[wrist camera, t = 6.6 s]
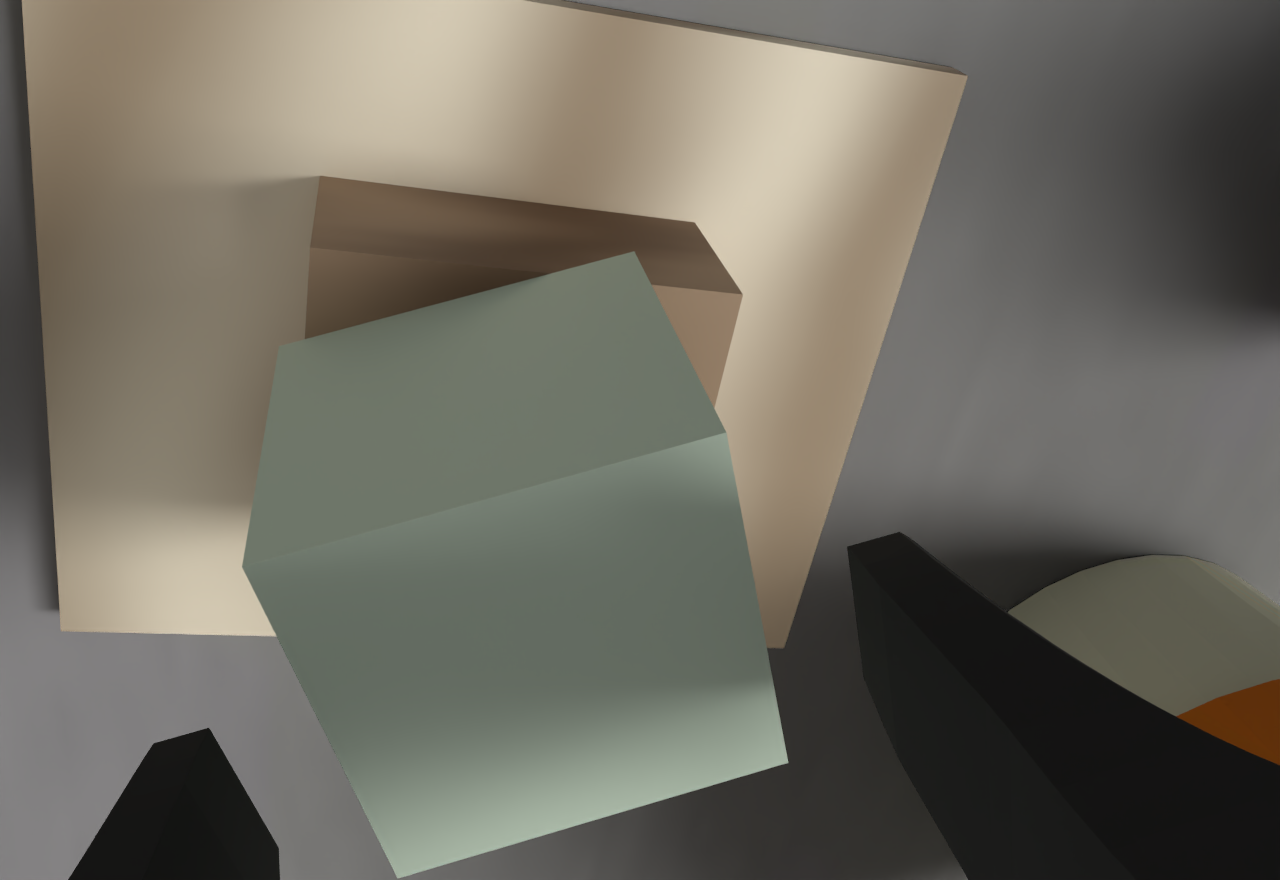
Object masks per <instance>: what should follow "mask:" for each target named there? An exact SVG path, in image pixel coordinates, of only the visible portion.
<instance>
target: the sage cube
mask: <svg viewBox="0 0 1280 880" xmlns="http://www.w3.org/2000/svg"><path fill="white" fill-rule="evenodd" d="M242 568H243V570H244V572H245V574H246V576H247V578H248V580H249V582H250V584H251V586H252V588H253V590H254V592H255V594H256V596H257V598H258V600H259V602H260V604H261V606H262V608H263V610H264V612H265V614H266V616H267V618H268V620H269V622H270V624H271V626H272V628H273V630H274V632H275V634H276V636H277V638H278V640H279V642H280V644H281V646H282V648H283V650H284V652H285V654H286V656H287V658H288V660H289V662H290V664H291V666H292V668H293V670H294V672H295V674H296V676H297V678H298V680H299V682H300V684H301V686H302V688H303V690H304V692H305V694H306V696H307V698H308V700H309V702H310V704H311V706H312V708H313V710H314V712H315V714H316V716H317V718H318V720H319V722H320V724H321V726H322V728H323V730H324V732H325V734H326V736H327V738H328V740H329V742H330V744H331V746H332V748H333V750H334V752H335V754H336V756H337V758H338V760H339V762H340V764H341V766H342V768H343V770H344V772H345V774H346V776H347V778H348V780H349V782H350V784H351V786H352V788H353V790H354V792H355V794H356V796H357V798H358V800H359V802H360V804H361V806H362V808H363V810H364V812H365V814H366V816H367V818H368V820H369V822H370V824H371V826H372V828H373V830H374V832H375V834H376V836H377V838H378V840H379V842H380V844H381V846H382V848H383V850H384V852H385V854H386V856H387V858H388V860H389V862H390V864H391V866H392V868H393V870H394V872H395V874H396V876H397V878H401V877H405V876H408V875H411V874H415V873H418V872H421V871H425V870H428V869H432V868H435V867H438V866H442V865H445V864H448V863H452V862H455V861H459V860H462V859H465V858H469V857H472V856H475V855H479V854H482V853H486V852H489V851H492V850H496V849H499V848H502V847H506V846H509V845H513V844H516V843H519V842H523V841H526V840H529V839H533V838H536V837H540V836H543V835H546V834H550V833H553V832H556V831H560V830H563V829H567V828H570V827H573V826H577V825H580V824H583V823H587V822H590V821H593V820H597V819H600V818H604V817H607V816H610V815H614V814H617V813H620V812H624V811H627V810H631V809H634V808H637V807H641V806H644V805H647V804H651V803H654V802H658V801H661V800H664V799H668V798H671V797H674V796H678V795H681V794H685V793H688V792H691V791H695V790H698V789H701V788H705V787H708V786H712V785H715V784H718V783H722V782H725V781H728V780H732V779H735V778H739V777H742V776H745V775H749V774H752V773H755V772H759V771H762V770H766V769H769V768H772V767H776V766H779V765H782V764H786V763H788V758H787V753H786V748H785V742H784V737H783V732H782V726H781V721H780V716H779V710H778V705H777V700H776V694H775V689H774V684H773V678H772V673H771V668H770V662H769V657H768V652H767V646H766V641H765V636H764V630H763V625H762V620H761V614H760V609H759V604H758V598H757V593H756V588H755V582H754V577H753V572H752V566H751V561H750V556H749V550H748V545H747V540H746V534H745V529H744V524H743V518H742V513H741V507H740V502H739V497H738V491H737V486H736V481H735V475H734V470H733V465H732V459H731V454H730V449H729V443H728V438H727V433H726V431H725V429H724V427H723V425H722V423H721V421H720V419H719V417H718V415H717V413H716V411H715V409H714V407H713V405H712V403H711V401H710V399H709V397H708V395H707V393H706V391H705V389H704V387H703V385H702V383H701V381H700V379H699V378H698V376H697V374H696V372H695V370H694V368H693V366H692V364H691V362H690V360H689V358H688V356H687V354H686V352H685V350H684V348H683V346H682V344H681V342H680V340H679V338H678V336H677V334H676V332H675V330H674V328H673V326H672V324H671V323H670V321H669V319H668V317H667V315H666V313H665V311H664V309H663V307H662V305H661V303H660V301H659V299H658V297H657V295H656V293H655V291H654V289H653V287H652V285H651V283H650V281H649V279H648V277H647V275H646V273H645V271H644V269H643V268H642V266H641V264H640V262H639V260H638V258H637V256H636V254H635V252H634V251H633V252H630V253H626V254H622V255H618V256H615V257H611V258H607V259H603V260H600V261H596V262H592V263H588V264H585V265H581V266H577V267H573V268H570V269H566V270H562V271H558V272H555V273H551V274H547V275H544V276H540V277H536V278H532V279H529V280H525V281H521V282H517V283H514V284H510V285H506V286H502V287H499V288H495V289H491V290H487V291H484V292H480V293H476V294H472V295H469V296H465V297H461V298H457V299H454V300H450V301H446V302H442V303H439V304H435V305H431V306H427V307H424V308H420V309H416V310H412V311H409V312H405V313H401V314H397V315H394V316H390V317H386V318H382V319H379V320H375V321H371V322H368V323H364V324H360V325H356V326H353V327H349V328H345V329H341V330H338V331H334V332H330V333H326V334H323V335H319V336H315V337H311V338H308V339H304V340H300V341H296V342H293V343H289V344H285V345H281V346H279V349H278V355H277V361H276V367H275V373H274V379H273V385H272V391H271V397H270V403H269V409H268V415H267V421H266V427H265V433H264V439H263V445H262V451H261V457H260V462H259V468H258V474H257V480H256V486H255V492H254V498H253V504H252V510H251V516H250V522H249V528H248V534H247V540H246V546H245V552H244V558H243V564H242Z"/></svg>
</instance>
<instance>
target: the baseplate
mask: <svg viewBox="0 0 1280 880" xmlns="http://www.w3.org/2000/svg"><path fill="white" fill-rule="evenodd" d="M22 13H23V29H24V46H25V62H26V78H27V94H28V110H29V126H30V142H31V158H32V174H33V190H34V206H35V222H36V238H37V254H38V270H39V287H40V303H41V319H42V335H43V351H44V367H45V383H46V399H47V415H48V431H49V447H50V463H51V479H52V495H53V511H54V528H55V544H56V560H57V576H58V592H59V608H60V624H61V631H76V632H119V633H161V634H203V635H245V636H276V634H275V632H274V630H273V628H272V626H271V624H270V622H269V620H268V618H267V616H266V614H265V612H264V610H263V608H262V606H261V604H260V602H259V600H258V598H257V596H256V594H255V592H254V590H253V588H252V586H251V584H250V582H249V580H248V578H247V576H246V574H245V572H244V570H243V568H242V564H243V558H244V552H245V546H246V540H247V534H248V528H249V522H250V516H251V510H252V504H253V498H254V492H255V486H256V480H257V474H258V468H259V462H260V457H261V451H262V445H263V439H264V433H265V427H266V421H267V415H268V409H269V403H270V397H271V391H272V385H273V379H274V373H275V367H276V361H277V355H278V349H279V346H281V345H285V344H289V343H293V342H296V341H300V340H304V339H308V338H311V337H315V336H319V335H323V334H326V333H330V332H334V331H338V330H341V329H345V328H349V327H353V326H356V325H360V324H364V323H368V322H371V321H375V320H379V319H382V318H386V317H390V316H394V315H397V314H401V313H405V312H409V311H412V310H416V309H420V308H424V307H427V306H431V305H435V304H439V303H442V302H446V301H450V300H454V299H457V298H461V297H465V296H469V295H472V294H476V293H480V292H484V291H487V290H491V289H495V288H499V287H502V286H506V285H510V284H514V283H517V282H521V281H525V280H529V279H532V278H536V277H540V276H544V275H547V274H551V273H555V272H558V271H562V270H566V269H570V268H573V267H577V266H581V265H585V264H588V263H592V262H596V261H600V260H603V259H607V258H611V257H615V256H618V255H622V254H626V253H630V252H633V251H634V252H635V254H636V256H637V258H638V260H639V262H640V264H641V266H642V268H643V269H644V271H645V273H646V275H647V277H648V279H649V281H650V283H651V285H652V287H653V289H654V291H655V293H656V295H657V297H658V299H659V301H660V303H661V305H662V307H663V309H664V311H665V313H666V315H667V317H668V319H669V321H670V323H671V324H672V326H673V328H674V330H675V332H676V334H677V336H678V338H679V340H680V342H681V344H682V346H683V348H684V350H685V352H686V354H687V356H688V358H689V360H690V362H691V364H692V366H693V368H694V370H695V372H696V374H697V376H698V378H699V379H700V381H701V383H702V385H703V387H704V389H705V391H706V393H707V395H708V397H709V399H710V401H711V403H712V405H713V407H714V409H715V411H716V413H717V415H718V417H719V419H720V421H721V423H722V425H723V427H724V429H725V431H726V433H727V438H728V443H729V449H730V454H731V459H732V465H733V470H734V475H735V481H736V486H737V491H738V497H739V502H740V507H741V513H742V518H743V524H744V529H745V534H746V540H747V545H748V550H749V556H750V561H751V566H752V572H753V577H754V582H755V588H756V593H757V598H758V604H759V609H760V614H761V620H762V625H763V630H764V636H765V641H766V646H767V648H784V647H785V644H786V641H787V638H788V635H789V631H790V628H791V625H792V622H793V619H794V616H795V613H796V610H797V607H798V603H799V600H800V597H801V594H802V591H803V588H804V585H805V582H806V579H807V575H808V572H809V569H810V566H811V563H812V560H813V557H814V554H815V551H816V547H817V544H818V541H819V538H820V535H821V532H822V529H823V526H824V523H825V520H826V516H827V513H828V510H829V507H830V504H831V501H832V498H833V495H834V492H835V488H836V485H837V482H838V479H839V476H840V473H841V470H842V467H843V464H844V460H845V457H846V454H847V451H848V448H849V445H850V442H851V439H852V436H853V432H854V429H855V426H856V423H857V420H858V417H859V414H860V411H861V408H862V405H863V401H864V398H865V395H866V392H867V389H868V386H869V383H870V380H871V377H872V373H873V370H874V367H875V364H876V361H877V358H878V355H879V352H880V349H881V345H882V342H883V339H884V336H885V333H886V330H887V327H888V324H889V321H890V317H891V314H892V311H893V308H894V305H895V302H896V299H897V296H898V293H899V290H900V286H901V283H902V280H903V277H904V274H905V271H906V268H907V265H908V262H909V258H910V255H911V252H912V249H913V246H914V243H915V240H916V237H917V234H918V230H919V227H920V224H921V221H922V218H923V215H924V212H925V209H926V206H927V203H928V199H929V196H930V193H931V190H932V187H933V184H934V181H935V178H936V175H937V171H938V168H939V165H940V162H941V159H942V156H943V153H944V150H945V147H946V143H947V140H948V137H949V134H950V131H951V128H952V125H953V122H954V119H955V115H956V112H957V109H958V106H959V103H960V100H961V97H962V94H963V91H964V88H965V84H966V81H967V78H968V76H967V75H965V74H963V73H962V72H960V71H958V70H956V69H954V68H952V67H947V66H941V65H935V64H929V63H923V62H918V61H912V60H906V59H900V58H894V57H888V56H883V55H877V54H871V53H865V52H859V51H854V50H848V49H842V48H836V47H830V46H825V45H819V44H813V43H807V42H801V41H796V40H790V39H784V38H778V37H772V36H766V35H761V34H755V33H749V32H743V31H737V30H732V29H726V28H720V27H714V26H708V25H703V24H697V23H691V22H685V21H679V20H674V19H668V18H662V17H656V16H650V15H644V14H639V13H633V12H627V11H621V10H615V9H610V8H604V7H598V6H592V5H586V4H581V3H575V2H569V1H563V0H22Z"/></svg>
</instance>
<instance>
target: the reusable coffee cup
mask: <svg viewBox="0 0 1280 880" xmlns="http://www.w3.org/2000/svg"><path fill="white" fill-rule="evenodd" d="M1008 613H1009V614H1011V615H1012V616H1014V617H1015V618H1016V619H1018V620H1019V621H1021V622H1022V623H1024V624H1025V625H1027V626H1028V627H1030V628H1031V629H1033V630H1034V631H1035V632H1037V633H1038V634H1040V635H1041V636H1043V637H1044V638H1046V639H1047V640H1049V641H1050V642H1052V643H1053V644H1054V645H1056V646H1058V647H1059V648H1061V649H1062V650H1064V651H1065V652H1067V653H1068V654H1070V655H1072V656H1073V657H1075V658H1076V659H1078V660H1079V661H1081V662H1082V663H1084V664H1086V665H1087V666H1089V667H1091V668H1092V669H1094V670H1096V671H1097V672H1099V673H1101V674H1102V675H1104V676H1106V677H1107V678H1109V679H1110V680H1112V681H1114V682H1115V683H1117V684H1119V685H1120V686H1122V687H1124V688H1126V689H1127V690H1129V691H1131V692H1132V693H1134V694H1136V695H1138V696H1139V697H1141V698H1143V699H1145V700H1147V701H1148V702H1150V703H1152V704H1154V705H1156V706H1157V707H1159V708H1161V709H1163V710H1165V711H1167V712H1168V713H1170V714H1172V715H1174V716H1176V717H1178V718H1180V719H1182V720H1184V721H1186V722H1188V723H1190V724H1192V725H1194V726H1196V727H1197V728H1199V729H1201V730H1203V731H1205V732H1207V733H1209V734H1211V735H1213V736H1215V737H1217V738H1220V739H1222V740H1224V741H1226V742H1228V743H1230V744H1232V745H1235V746H1237V747H1239V748H1241V749H1243V750H1245V751H1247V752H1250V753H1252V754H1254V755H1257V756H1259V757H1261V758H1264V759H1266V760H1269V761H1271V762H1273V763H1276V764H1278V765H1280V606H1279V605H1277V604H1276V603H1274V602H1273V601H1272V600H1270V599H1269V598H1268V597H1266V596H1265V595H1263V594H1262V593H1261V592H1259V591H1258V590H1256V589H1255V588H1254V587H1252V586H1251V585H1249V584H1248V583H1247V582H1245V581H1244V580H1242V579H1241V578H1240V577H1238V576H1237V575H1235V574H1233V573H1231V572H1229V571H1228V570H1226V569H1224V568H1222V567H1220V566H1218V565H1216V564H1215V563H1211V562H1207V561H1203V560H1199V559H1195V558H1191V557H1187V556H1169V555H1149V556H1142V557H1135V558H1128V559H1121V560H1115V561H1112V562H1109V563H1106V564H1102V565H1099V566H1096V567H1092V568H1089V569H1086V570H1083V571H1080V572H1077V573H1075V574H1073V575H1071V576H1069V577H1067V578H1065V579H1062V580H1060V581H1058V582H1056V583H1054V584H1052V585H1049V586H1047V587H1045V588H1043V589H1042V590H1040V591H1039V592H1037V593H1036V594H1034V595H1032V596H1031V597H1029V598H1028V599H1026V600H1025V601H1023V602H1022V603H1020V604H1018V605H1017V606H1015V607H1014V608H1012V609H1011V610H1010V611H1008ZM968 880H969V879H968Z"/></svg>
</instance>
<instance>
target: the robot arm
mask: <svg viewBox="0 0 1280 880" xmlns="http://www.w3.org/2000/svg"><path fill="white" fill-rule="evenodd" d="M847 549H848V557H849V565H850V573H851V581H852V588H853V596H854V604H855V612H856V620H857V628H858V636H859V644H860V652H861V660H862V668H863V675H864V680H865V682H866V684H867V687H868V689H869V692H870V694H871V696H872V699H873V701H874V703H875V706H876V708H877V710H878V713H879V715H880V718H881V720H882V722H883V725H884V727H885V729H886V731H887V734H888V736H889V738H890V740H891V743H892V745H893V747H894V749H895V752H896V754H897V756H898V758H899V760H900V762H901V763H902V765H903V767H904V769H905V771H906V772H907V774H908V776H909V778H910V779H911V781H912V783H913V785H914V786H915V788H916V790H917V792H918V793H919V795H920V797H921V798H922V800H923V802H924V804H925V805H926V807H927V809H928V811H929V812H930V814H931V816H932V818H933V819H934V821H935V823H936V824H937V826H938V828H939V830H940V831H941V833H942V835H943V836H944V838H945V840H946V842H947V843H948V845H949V847H950V848H951V850H952V852H953V854H954V855H955V857H956V859H957V861H958V862H959V864H960V866H961V867H962V869H963V871H964V873H965V874H966V876H967V878H968V879H969V880H1280V765H1278V764H1276V763H1273V762H1271V761H1269V760H1266V759H1264V758H1261V757H1259V756H1257V755H1254V754H1252V753H1250V752H1247V751H1245V750H1243V749H1241V748H1239V747H1237V746H1235V745H1232V744H1230V743H1228V742H1226V741H1224V740H1222V739H1220V738H1217V737H1215V736H1213V735H1211V734H1209V733H1207V732H1205V731H1203V730H1201V729H1199V728H1197V727H1196V726H1194V725H1192V724H1190V723H1188V722H1186V721H1184V720H1182V719H1180V718H1178V717H1176V716H1174V715H1172V714H1170V713H1168V712H1167V711H1165V710H1163V709H1161V708H1159V707H1157V706H1156V705H1154V704H1152V703H1150V702H1148V701H1147V700H1145V699H1143V698H1141V697H1139V696H1138V695H1136V694H1134V693H1132V692H1131V691H1129V690H1127V689H1126V688H1124V687H1122V686H1120V685H1119V684H1117V683H1115V682H1114V681H1112V680H1110V679H1109V678H1107V677H1106V676H1104V675H1102V674H1101V673H1099V672H1097V671H1096V670H1094V669H1092V668H1091V667H1089V666H1087V665H1086V664H1084V663H1082V662H1081V661H1079V660H1078V659H1076V658H1075V657H1073V656H1072V655H1070V654H1068V653H1067V652H1065V651H1064V650H1062V649H1061V648H1059V647H1058V646H1056V645H1054V644H1053V643H1052V642H1050V641H1049V640H1047V639H1046V638H1044V637H1043V636H1041V635H1040V634H1038V633H1037V632H1035V631H1034V630H1033V629H1031V628H1030V627H1028V626H1027V625H1025V624H1024V623H1022V622H1021V621H1019V620H1018V619H1016V618H1015V617H1014V616H1012V615H1011V614H1009V613H1008V612H1006V611H1005V610H1004V609H1002V608H1001V607H999V606H998V605H997V604H995V603H994V602H992V601H991V600H990V599H988V598H987V597H986V596H984V595H983V594H982V593H980V592H979V591H978V590H976V589H975V588H974V587H972V586H971V585H970V584H968V583H967V582H965V581H964V580H963V579H962V578H960V577H959V576H958V575H956V574H955V573H954V572H952V571H951V570H950V569H948V568H947V567H946V566H945V565H943V564H942V563H941V562H939V561H938V560H937V559H936V558H934V557H933V556H932V555H931V554H929V553H928V552H927V551H926V550H924V549H923V548H922V547H920V546H919V545H918V544H917V543H915V542H914V541H913V540H912V539H910V538H909V537H907V536H906V535H904V534H902V533H900V532H898V533H894V534H891V535H887V536H884V537H880V538H877V539H873V540H870V541H866V542H862V543H859V544H855V545H852V546H848V547H847ZM68 880H280V871H279V848H278V846H277V844H276V843H275V841H274V839H273V837H272V836H271V834H270V832H269V831H268V829H267V827H266V825H265V824H264V822H263V820H262V818H261V817H260V815H259V813H258V812H257V810H256V808H255V806H254V805H253V803H252V801H251V799H250V798H249V796H248V794H247V793H246V791H245V789H244V787H243V786H242V784H241V782H240V780H239V779H238V777H237V775H236V774H235V772H234V770H233V768H232V767H231V765H230V763H229V761H228V760H227V758H226V756H225V754H224V753H223V751H222V749H221V748H220V746H219V744H218V742H217V741H216V739H215V737H214V735H213V734H212V732H211V730H210V729H209V728H207V729H203V730H200V731H196V732H193V733H189V734H186V735H182V736H178V737H175V738H171V739H168V740H164V741H161V742H157V743H154V744H153V745H152V747H151V748H150V750H149V751H148V753H147V754H146V756H145V757H144V759H143V761H142V762H141V764H140V765H139V767H138V768H137V770H136V772H135V773H134V775H133V777H132V778H131V780H130V781H129V783H128V785H127V786H126V788H125V789H124V791H123V793H122V794H121V796H120V798H119V799H118V801H117V802H116V804H115V806H114V807H113V809H112V810H111V812H110V814H109V815H108V817H107V819H106V820H105V822H104V823H103V825H102V827H101V828H100V830H99V832H98V833H97V835H96V836H95V838H94V840H93V841H92V843H91V844H90V846H89V848H88V849H87V851H86V853H85V854H84V856H83V857H82V859H81V861H80V862H79V864H78V865H77V867H76V868H75V870H74V872H73V873H72V875H71V876H70V878H69V879H68Z"/></svg>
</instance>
